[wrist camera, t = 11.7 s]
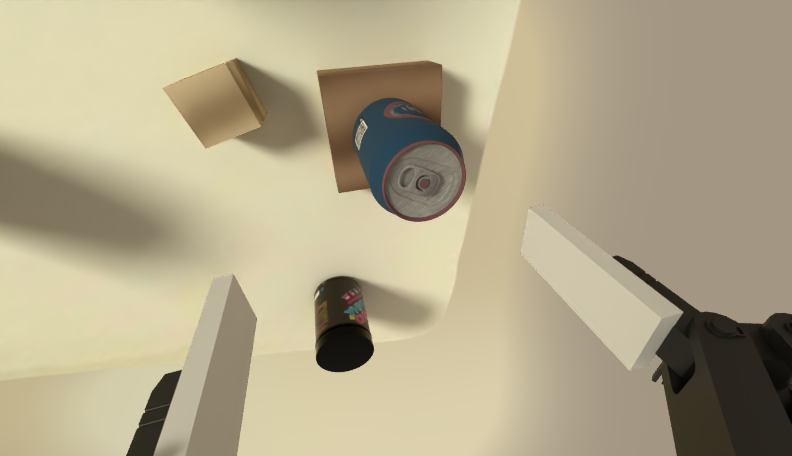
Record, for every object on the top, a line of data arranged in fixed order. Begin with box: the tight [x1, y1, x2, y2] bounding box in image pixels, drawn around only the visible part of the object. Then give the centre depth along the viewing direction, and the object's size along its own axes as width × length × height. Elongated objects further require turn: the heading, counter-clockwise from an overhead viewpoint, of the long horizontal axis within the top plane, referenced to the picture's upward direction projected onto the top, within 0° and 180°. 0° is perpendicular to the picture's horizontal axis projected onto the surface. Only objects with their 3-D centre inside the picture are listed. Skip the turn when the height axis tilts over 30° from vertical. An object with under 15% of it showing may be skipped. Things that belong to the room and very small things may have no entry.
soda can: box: [352, 98, 466, 222], centre depth 25 cm, size 7×7×12 cm
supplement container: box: [314, 277, 374, 372], centre depth 41 cm, size 7×7×10 cm
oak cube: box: [163, 58, 267, 148], centre depth 27 cm, size 5×5×5 cm
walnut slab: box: [317, 61, 442, 193], centre depth 32 cm, size 11×11×4 cm
